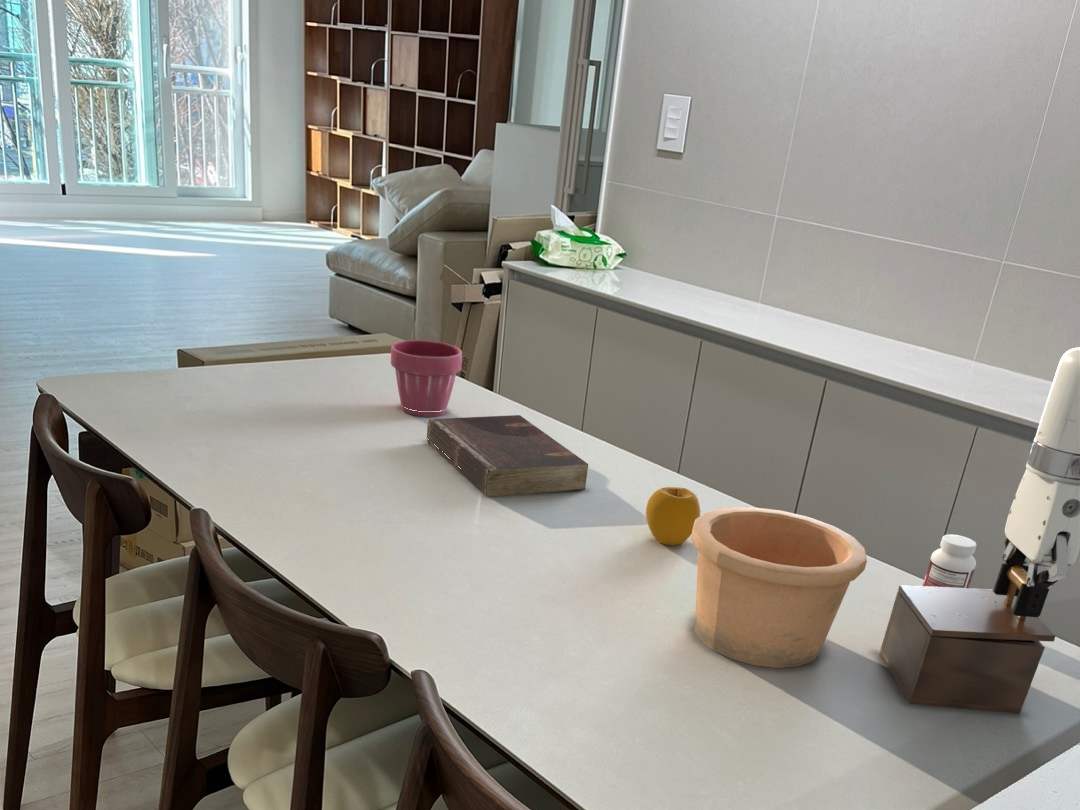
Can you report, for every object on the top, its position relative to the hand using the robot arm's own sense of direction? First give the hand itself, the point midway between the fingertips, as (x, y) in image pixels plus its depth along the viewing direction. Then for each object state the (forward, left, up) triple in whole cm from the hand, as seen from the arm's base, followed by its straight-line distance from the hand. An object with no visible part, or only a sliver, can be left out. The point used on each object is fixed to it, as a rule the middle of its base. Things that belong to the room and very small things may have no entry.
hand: (1015, 603), depth 129 cm
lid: (+5, 0, -2) cm, 5 cm away
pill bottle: (-2, -23, -12) cm, 26 cm away
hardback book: (+63, -69, -12) cm, 94 cm away
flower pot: (+80, -100, -12) cm, 129 cm away
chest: (+5, 0, -12) cm, 13 cm away
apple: (+36, -40, -12) cm, 55 cm away
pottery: (+28, -8, -12) cm, 32 cm away
